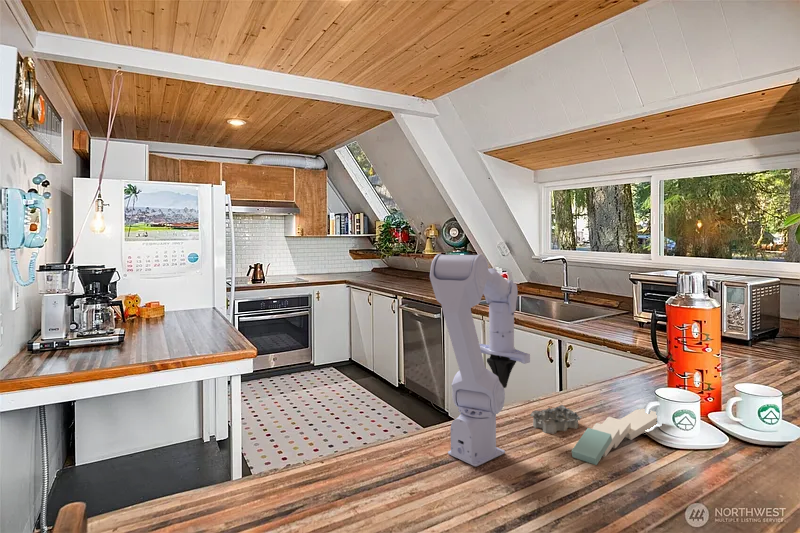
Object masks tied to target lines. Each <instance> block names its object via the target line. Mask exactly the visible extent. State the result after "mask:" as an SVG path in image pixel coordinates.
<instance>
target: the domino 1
mask: <svg viewBox="0 0 800 533" xmlns="http://www.w3.org/2000/svg"><path fill="white" fill-rule="evenodd" d="M611 442H612V436H611V434H609V433H605V432H601V431H598V430H594V429H592V428H590V427H587V429H586V430H585V431H584V432H583V434H582V435H581V436H580V438H579V439H578V441H577V442H576V444H575V445H574V447H573V448H572V450H571V455H572V458H574V459H577V460H579V461H580V460H581V461H583V462H586V463H589V464H592V465H595V466H598V463H599V462H600V461H601V458H602V457H603V454H604V453H605V451H606V449H607V448H608V446H609V445H610V443H611Z"/></svg>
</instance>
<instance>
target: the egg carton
mask: <svg viewBox="0 0 800 533" xmlns="http://www.w3.org/2000/svg"><path fill="white" fill-rule="evenodd" d="M529 416H530V417H532V418H533V419H532V426H533V428H536V429H542V432H543V433H544V434H552V435H553V434H557V431H562V432H566V431H568V429H578V428H579V421H581V419H582V418H583V416H582V415H578V413H577V412H574V411H573V410H572V409H570V408H569V407H568V408H567V407H565V406H564V405H563V404H560V405H559V406H556V407H552V408H550V407H548V408H546V409H540V410H532V412H531V413H530V415H529Z"/></svg>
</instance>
